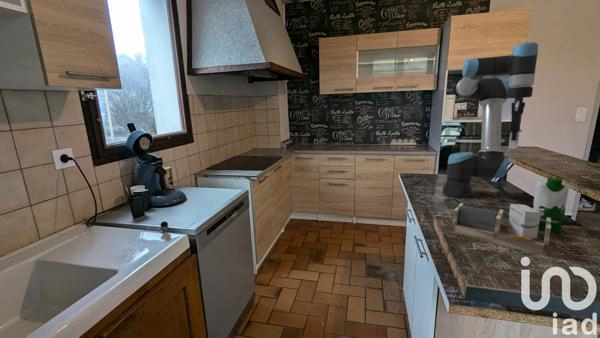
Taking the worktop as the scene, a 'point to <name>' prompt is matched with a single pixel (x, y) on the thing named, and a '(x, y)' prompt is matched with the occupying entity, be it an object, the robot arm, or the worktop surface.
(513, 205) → the ink box
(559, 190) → the milk carton
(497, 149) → the robot arm
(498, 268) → the worktop surface
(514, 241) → the rack
